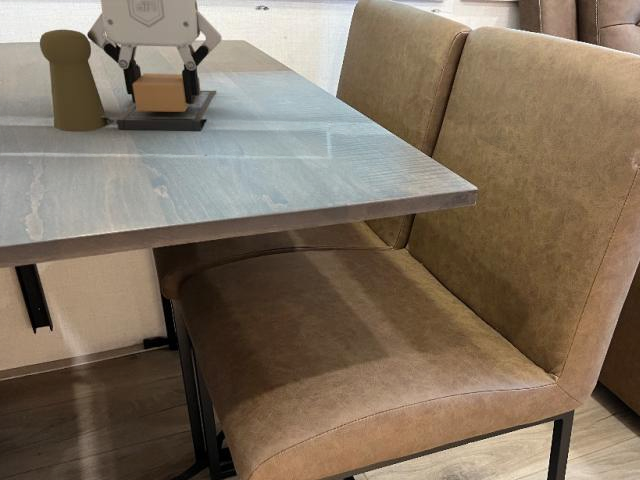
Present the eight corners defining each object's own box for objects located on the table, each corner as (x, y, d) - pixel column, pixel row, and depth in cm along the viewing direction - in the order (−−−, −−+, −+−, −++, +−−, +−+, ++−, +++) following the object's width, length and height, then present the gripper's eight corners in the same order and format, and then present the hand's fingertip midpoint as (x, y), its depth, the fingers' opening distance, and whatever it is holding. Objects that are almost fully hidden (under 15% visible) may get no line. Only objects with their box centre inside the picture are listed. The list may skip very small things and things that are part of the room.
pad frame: (118, 133, 76) (116, 119, 76) (147, 100, 90) (145, 89, 89) (201, 134, 78) (199, 121, 77) (217, 102, 91) (216, 90, 90)
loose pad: (136, 111, 76) (132, 84, 75) (147, 99, 82) (143, 73, 80) (184, 112, 77) (181, 84, 76) (192, 99, 82) (189, 74, 81)
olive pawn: (97, 118, 81) (79, 25, 76) (117, 129, 78) (100, 32, 72) (47, 125, 77) (24, 28, 72) (66, 137, 74) (43, 36, 68)
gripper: (46, -70, 66) (83, 107, 75) (216, -62, 68) (232, 110, 77) (69, -71, 72) (101, 92, 81) (225, -64, 74) (238, 95, 83)
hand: (164, 99), depth 79 cm, fingers closed on loose pad, 5 cm apart
